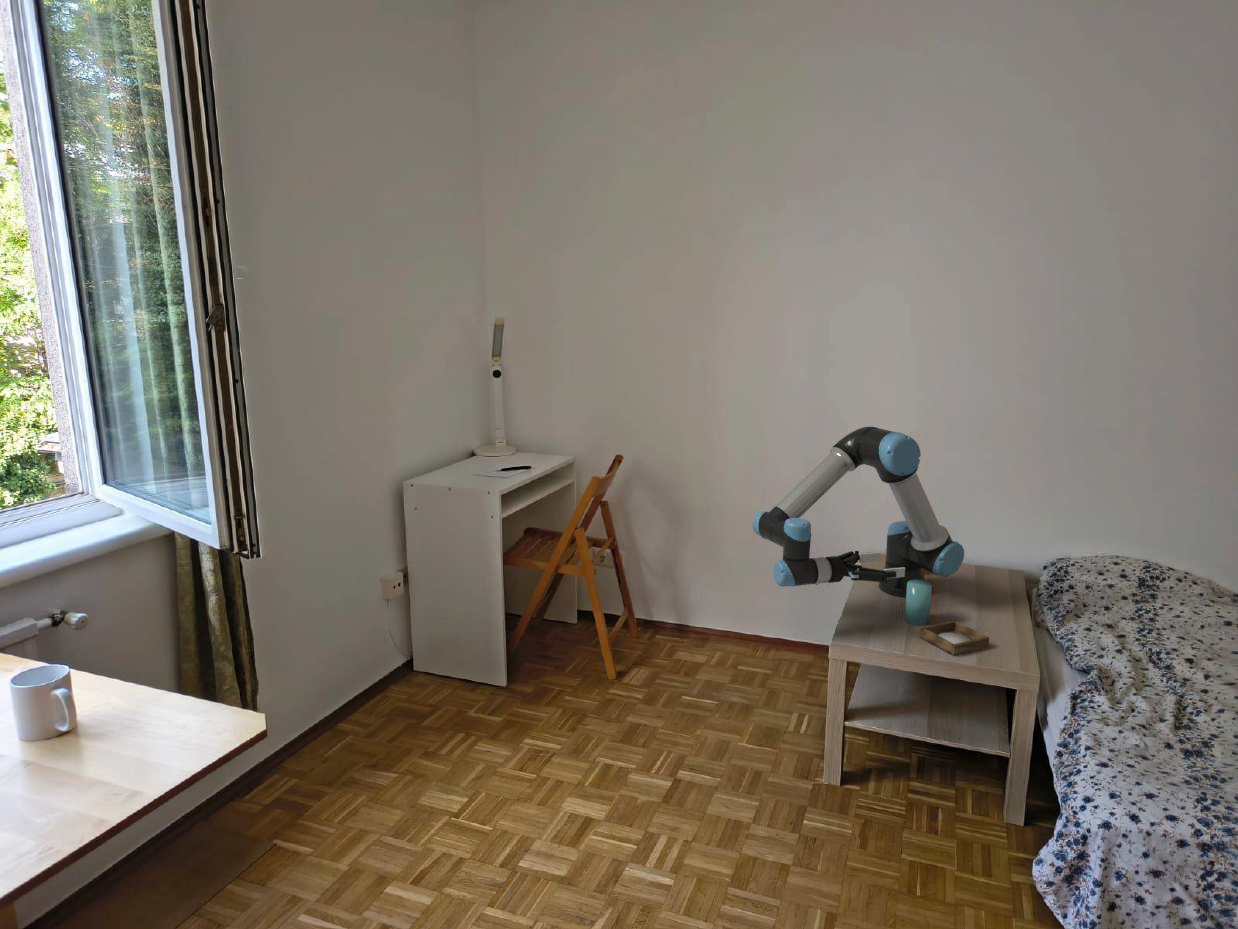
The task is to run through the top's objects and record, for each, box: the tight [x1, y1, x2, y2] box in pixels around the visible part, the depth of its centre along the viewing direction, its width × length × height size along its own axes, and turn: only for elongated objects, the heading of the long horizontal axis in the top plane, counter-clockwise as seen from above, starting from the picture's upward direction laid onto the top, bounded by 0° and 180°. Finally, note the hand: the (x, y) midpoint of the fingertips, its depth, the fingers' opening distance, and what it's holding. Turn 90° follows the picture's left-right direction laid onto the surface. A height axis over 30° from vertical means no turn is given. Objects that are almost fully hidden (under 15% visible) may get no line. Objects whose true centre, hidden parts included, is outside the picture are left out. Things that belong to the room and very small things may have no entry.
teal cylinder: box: [904, 580, 933, 627], centre depth 257 cm, size 7×7×12 cm
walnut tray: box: [919, 620, 990, 657], centre depth 244 cm, size 13×13×3 cm
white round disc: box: [938, 633, 970, 644], centre depth 244 cm, size 9×9×1 cm
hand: (891, 564), depth 252 cm, fingers open, 13 cm apart
